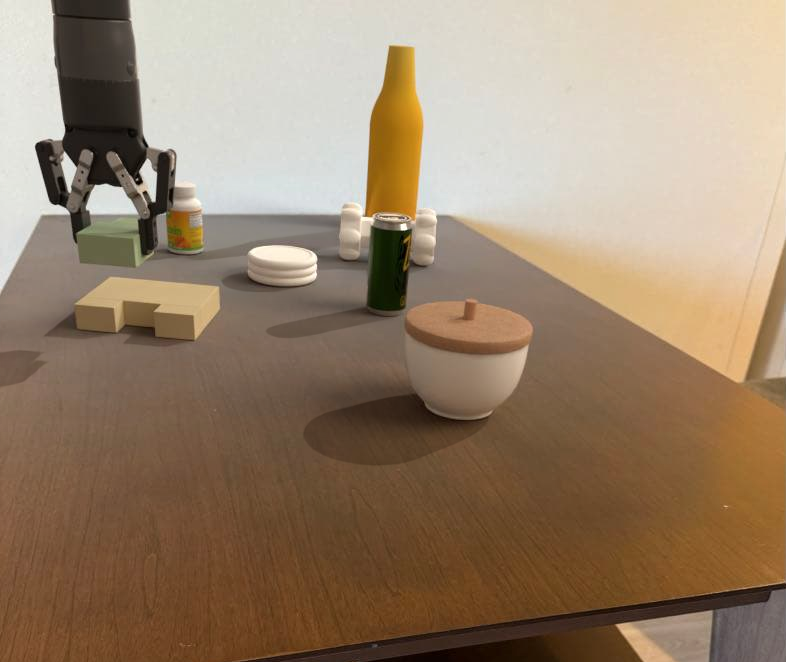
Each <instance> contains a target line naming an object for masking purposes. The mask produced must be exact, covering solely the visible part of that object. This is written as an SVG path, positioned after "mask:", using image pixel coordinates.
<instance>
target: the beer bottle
mask: <svg viewBox="0 0 786 662" xmlns="http://www.w3.org/2000/svg"><path fill="white" fill-rule="evenodd" d="M415 49H416V47H414V46H409V45H408V46H407V45H395V44H389V45H388V51H387V58H386V65H385V69H384V70H385V71H384V77H383V83H382V87H381V90H380V92H379V94H378V96H377V98H376V100H375V103H374V105H373V107H372V111H371V114H370V118H369V119H370V120H369V132H368V133H369V134H368V139H369V140H368V153H367V154H368V155H367V170H366V171H367V173H366V192H365V193H366V194H365V207H364V217H370V218H373V215H374V214H377V213H397V214H403V215H406V216H409V217H411V221H415V214H416V212H417V211H418V210H417V209H418V198H419V197H418V196H419V195H418V193H419V184H420V172H421V160H422V146H423V135H424V114H423V111H422V107H421V102H420V100H419V97H418V93H417V89H416V88H417V86H416V50H415Z"/></svg>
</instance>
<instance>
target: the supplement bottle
mask: <svg viewBox="0 0 786 662" xmlns="http://www.w3.org/2000/svg"><path fill="white" fill-rule="evenodd" d="M196 185H197V184H195V183H193V182H188V181H175V189H174V204H173V208H172V209H170V210H169V211H167V212H166V213H165V221H166V236H167V237H166V238H167V249H168V251H169V252H171V253H174V254H177V255H190V256H191V255H197V254H200V253H202V252H203V251H204V230H203V229H204V228H203V210H202V209H203V208H202V203H201V201H200V200H199V199H197V198H196V197H195V196H196V195H197V186H196Z"/></svg>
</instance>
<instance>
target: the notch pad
mask: <svg viewBox="0 0 786 662" xmlns="http://www.w3.org/2000/svg"><path fill="white" fill-rule="evenodd" d="M73 305H74V306H73V307H74V314H75V323H76V329H77V330H79V331H80V330H81V331H92V332H102V333H103V332H104V333H114V334H117V333H118V332H119V331H120V330H121V329H122V328H123V327H124V326H133V327H144V328H153V329H154V335H155V337H156V338H164V339H165V338H167V339H177V340H185V341H187V340H188V341H196V340H197V338H198V337H199V336H200V335H201V334H202V332H203V331H204V330H205V329H206V328H207V326H208V325H209V324H210V322H211V321H212V320H213V319H214V317H215V316H216V315H217V314H218V313H219V311H220V310H221V302H220V286H216V285H206V284H197V283H194V284H193V283H186V282H185V283H184V282H174V281H165V280H163V281H161V280H153V279H142V278H141V279H140V278H130V277H119V276H109V277H108V278H107V279H105V280H104V281H103V282H101V283H100V284H98V286H96V287H95V288H94V289H92V290H91V291H90V292H88V293H87V294H85V295H84V296H83V297H82V298H80V299H79V300H77V301H76V302H75V303H74V304H73Z"/></svg>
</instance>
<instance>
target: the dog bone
mask: <svg viewBox="0 0 786 662" xmlns="http://www.w3.org/2000/svg"><path fill="white" fill-rule="evenodd" d="M363 212H364V210H363V207H362V206H361V204H359V203H357V202H354V201H353V202H346V203H344V204H343V205H342V206H341V211H340V214H339V217H340V228H339V230H340V231H339V234H338V239H339V249H338V255H339V257H340V258H341V259H343V260H346V261H355V260H358V258H360V257H361V249H369V242H370V224H371V222H372V220H373V218H370V217H365V216H363ZM411 224H412V227H413V228H412V240H411V252H410V253H411V254H412V261H413V262H414V264H416V265H418V266H421V267H423V266H424V267H425V266H429V265H431V264H432V263H433V262H434V260H435V257H434V255H435V254H434V252H435V247H436V244H437V241H436V233H437V232H436V231H437V224H438V219H437V213H436V211H435V210H434V209H431V208H428V207H422V208H419V209H418V210H416V214H415V221H411Z"/></svg>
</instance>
